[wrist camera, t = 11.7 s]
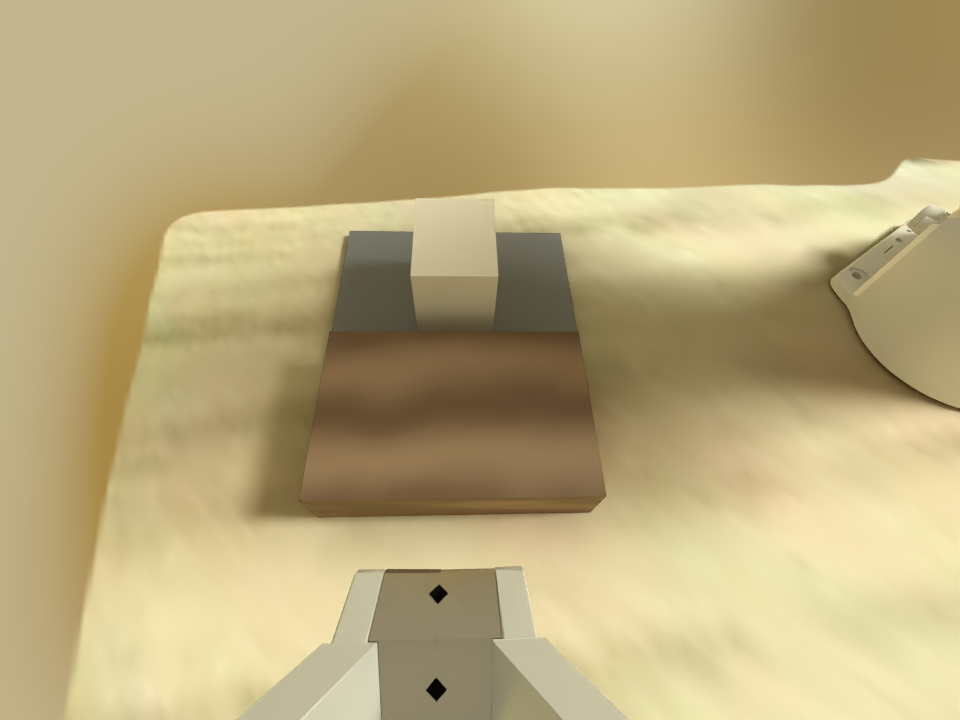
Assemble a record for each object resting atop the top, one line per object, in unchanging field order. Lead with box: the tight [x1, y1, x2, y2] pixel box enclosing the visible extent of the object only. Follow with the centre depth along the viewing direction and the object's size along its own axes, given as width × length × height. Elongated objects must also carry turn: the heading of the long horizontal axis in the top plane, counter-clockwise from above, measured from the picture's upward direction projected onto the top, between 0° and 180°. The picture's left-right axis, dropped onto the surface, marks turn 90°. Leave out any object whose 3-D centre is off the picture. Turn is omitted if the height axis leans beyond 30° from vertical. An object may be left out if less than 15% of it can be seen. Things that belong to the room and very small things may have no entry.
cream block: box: [410, 198, 498, 331], centre depth 36 cm, size 7×6×8 cm
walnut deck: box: [299, 331, 606, 517], centre depth 31 cm, size 12×18×4 cm, turn 91°
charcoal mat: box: [332, 231, 577, 332], centre depth 40 cm, size 14×20×1 cm
